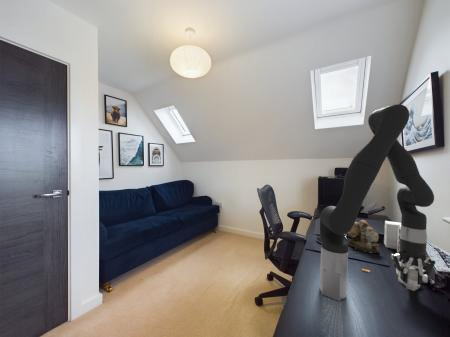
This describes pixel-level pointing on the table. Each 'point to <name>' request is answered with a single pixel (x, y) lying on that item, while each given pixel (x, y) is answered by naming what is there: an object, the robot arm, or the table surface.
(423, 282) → the tray
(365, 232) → the owl figurine
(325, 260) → the robot arm
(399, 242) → the candy bar box
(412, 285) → the crank arm
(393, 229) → the supplement box
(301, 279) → the table surface
